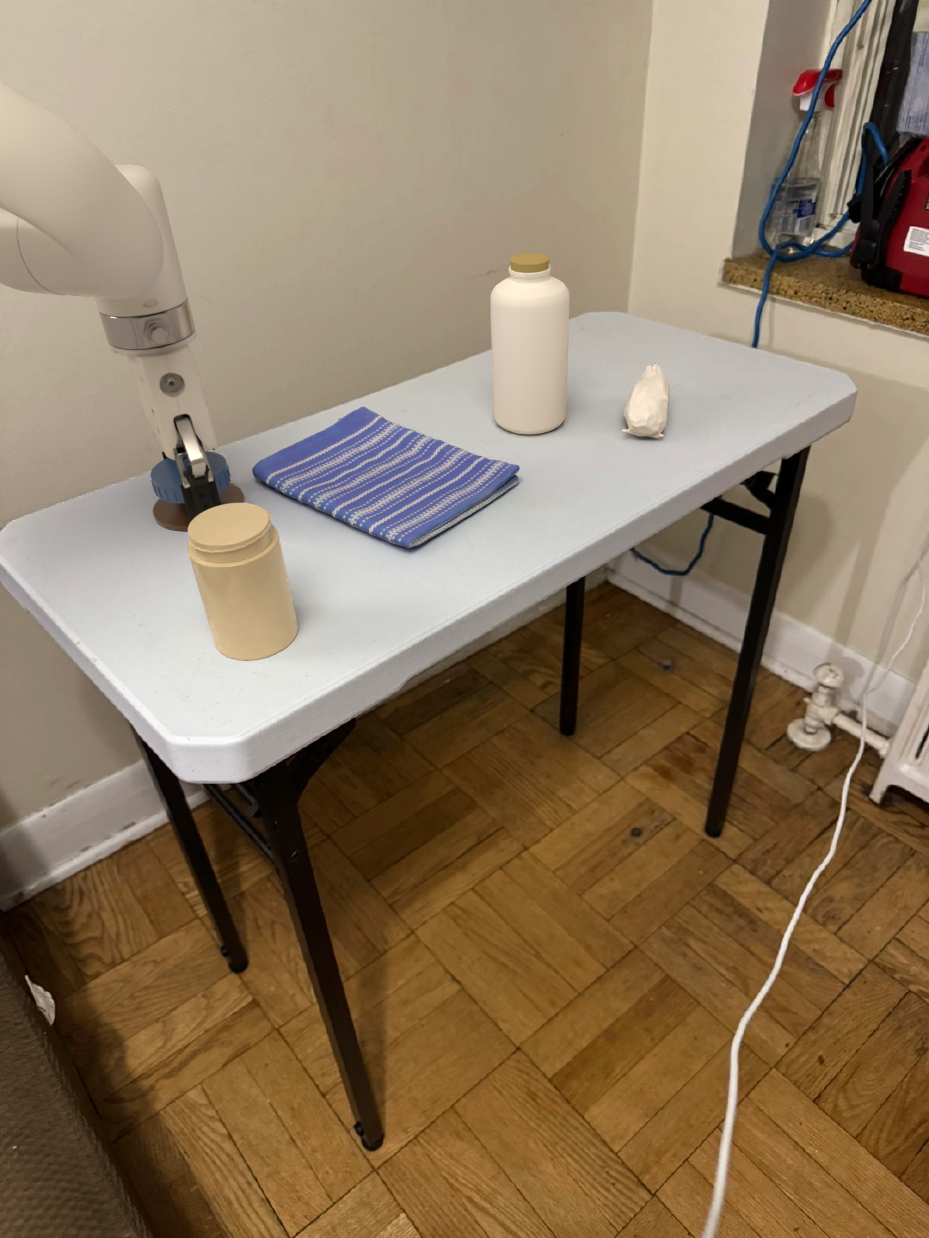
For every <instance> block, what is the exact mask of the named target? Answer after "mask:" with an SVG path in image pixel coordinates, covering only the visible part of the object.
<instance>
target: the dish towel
mask: <svg viewBox="0 0 929 1238" xmlns="http://www.w3.org/2000/svg"><path fill="white" fill-rule="evenodd" d="M520 470H521V467H520V465H519V464H513V463H509V462H508V461H504V460H498V459H497V460H496V459H489V458H487V457H486V456H482V455H478V454H475V453H473V452H470V451H468V450H467V449H464V448H462V447H459V446H455V445H452V444H449V442H446V441H443V440H442V439H438V438H437V439H435V438H433V437H432V436H430V435H426V434H423V433H422V432H417V431H416V430H414V429H411V428H407V427H405V426H401V425H400V424H399V423H395V422H392V421H391V420H388V419H386V418H385V417H383V415H380V414H378V413H377V412H375V411H372V410H370V409H369V408H367V406H360V407H359V408H357V409H355V410H352V411H350V412H349V413H348V414H346V415H344V416H343V417H342V418H340V419H339V420H338V421H336V422H335V423H333V424H332V425H330V426H328V427H327V428H324V429H323V430H321V431H317V432H316V433H314V434H311V435H310V436H308V437H305V438H303V439H301V440H299V441H297V442H295V443H293V444H292V445H289V446H287V447H285V448H282V449H280V450H278V451H276V452H274V453H271V454H270V455H268V456H266V457H264V458H263V459H260V460H259V461H258V462H257V463H255V465H253V467H252V469H251V473H252V475H253V477H254V478H255V479H257V480H259V481H262V482H263V483H265V484H266V485H267V486H269V487H272V488H273V489H275V490H276V491H277V492H280V493H282V494H284V495H286V496H288V497H290V498H291V499H294V500H297V501H298V502H300V503H302V504H306V505H308V506H309V507H312V508H314V509H316V510H318V511H319V512H322V513H325V514H328V515H330V516H331V517H333V518H334V519H337V520H339V521H341V522H344V523H346V524H348V525H349V526H351V527H353V528H355V529H358V530H360V531H362V532H365V533H367V534H369V535H370V536H373V537H376V538H379V539H381V540H382V541H386V542H388V543H390V544H394V545H397V546H400V547H403V548H405V549H406V548H407V549H410V548H415V547H418V546H420V545H422V544H424V543H425V542H427V541H428V540H430V539H433V538H434V537H435V536H437V535H439V534H441V533H443V532H444V531H446V530H448V529H449V528H451V527H453V526H454V525H456V524H458V523H459V522H460V521H462V520H464V519H466V518H467V517H469V516H470V515H472V514H473V513H475V512H477V511H478V510H480V509H482V508H483V507H485V506H486V505H488V504H490V503H491V502H492V501H494V500H495V499H497V498H498V497H500V496H501V495H503V494H504V493H506V492H507V491H508V490H510V489H512V488H513V487H515V486H516V485H518V484H519V483H520V478H519V476H518V475H517V474H518V472H519V471H520Z"/></svg>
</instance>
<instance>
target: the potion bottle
mask: <svg viewBox="0 0 929 1238" xmlns="http://www.w3.org/2000/svg"><path fill="white" fill-rule="evenodd" d="M550 260H551V257H550V256H549V255H548V254H545V253H540V252H523V253H518V254H515V255H513V256H511V257H510V258H509V263H510V265H509V267H508V273H509V275H510V276H508V277H506V278H504V279H503V280H502V281H500V282H499V283H497V284H496V285H495V286H494V287H493V289H492V291H491V293H490V298H489V303H490V304H489V306H490V307H489V308H490V309H489V310H490V333H491V334H490V338H491V370H492V372H491V373H492V375H491V376H492V403H493V405H492V407H493V418H494V420H495V422H496V424H497V425H498V426H500V427H501V428H502V429H504V430H505V431H508V432H511V433H512V434H513V433H514V434H520V435H539V434H544V433H548V432H551V431H553V430H554V429H557V428H559V426H561V425H562V423H563V422H564V421H565V420H566V418H567V410H568V409H567V407H568V372H569V371H568V370H569V369H568V368H569V336H570V335H569V333H570V299H571V298H570V295H571V294H570V290H569V288H568V287H567V285H566V284H565V283H564V282H563V281H562V280H560V279H558V278H556V277H554V276H552V275H550V273H551V270H552V265H551V264H550Z"/></svg>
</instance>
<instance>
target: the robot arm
mask: <svg viewBox="0 0 929 1238" xmlns="http://www.w3.org/2000/svg"><path fill="white" fill-rule="evenodd" d="M179 259H180V258H179V255H178V251H177V249H176V243H175V239H174V234H173V230H172V226H171V221H170V217H169V213H168V210H167V205H166V201H165V197H164V193H163V189H162V186H161V183H160V181H159V179H158V177H157V175H156V174H155V173H154V172H153V171H152V170H150V169H149V168H147V167H145V166H142V165H137V164H130V163H129V164H128V163H127V164H123V163H122V164H114V163H113V162H112V161H111V160H110V159H109V158H108V157H107V156H106V155H105V154H104V152H103V151H102V150H101V149H100V148H99V147H98V146H96V144H94V142H93V141H92V140H90V139H89V138H88V137H87V136H86V135H85V134H83V133H82V132H81V131H80V130H79V129H78V128H76V127H75V126H74V125H72V124H71V123H69V122H68V121H67V120H65V119H64V118H63V117H61V116H60V115H58V114H56V113H55V112H54V111H52V110H50V109H49V108H48V107H46V106H44V105H43V104H41V103H40V102H38V101H36V100H35V99H33V98H31V97H30V96H28V95H26V94H25V93H23V92H21V91H20V90H18V89H16V88H15V87H13V86H12V85H10V84H8V83H7V82H5V81H3V80H2V79H0V284H1V285H3V286H6V287H8V288H11V289H13V290H17V291H21V292H27V293H31V294H32V293H34V294H44V295H55V296H72V297H82V298H83V297H85V298H93V299H94V300H95V303H96V307H97V310H98V313H99V317H100V320H101V323H102V327H103V330H104V333H105V336H106V340H107V343H108V347H109V349H110V351H111V352H113V353H114V354H117V355H121V356H126V359H127V363H128V366H129V369H130V373H131V376H132V379H133V382H134V385H135V389H136V393H137V395H138V398H139V400H140V404H141V407H142V409H143V412H144V415H145V418H146V420H147V423H148V425H149V427H150V430H151V431H152V434H153V436H154V437H155V439H156V441H157V442H158V444H159V446H160V448H161V449H162V451H161V454H162V460H164V459H166V458H170V459H172V460H175V462H176V465H177V468H178V471H179V474H180V477H181V480H182V483H183V484H182V485H180V488H181V491H182V495H183V498H184V502H185V506H186V509H187V513H188V516H189V519H190V521H192V520H193V519H194V518H195V517H196V516H197V515H199V514H200V513H202V512H204V511H206V510H208V509H210V508H213V507H216V506H219V505H221V502H220V498H219V494H218V490H217V486H216V482H215V478H214V477H213V475H212V472H211V469H210V466H209V463H208V460H207V457H206V454H205V451H206V450H205V448H206V449H207V451H209V450H212V451H216V450H217V449H218V448H219V440H218V437H217V433H216V432H217V431H216V430H215V426H214V423H213V419H212V415H211V412H210V407H209V404H208V401H207V397H206V394H205V390H204V387H203V383H202V380H201V377H200V374H199V371H198V367H197V364H196V362H195V358H194V355H193V353H192V350H191V348H190V345H189V344H191V343H192V342H193V341H194V340H195V339H196V337H197V331H196V326H195V323H194V318H193V313H192V310H191V305H190V302H189V298H188V294H187V290H186V286H185V282H184V276H183V272H182V268H181V264H180V260H179ZM185 459H188V463H189V466H188V467H187V468H186V471H185V468H184V465H183V462H182V460H185Z"/></svg>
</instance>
